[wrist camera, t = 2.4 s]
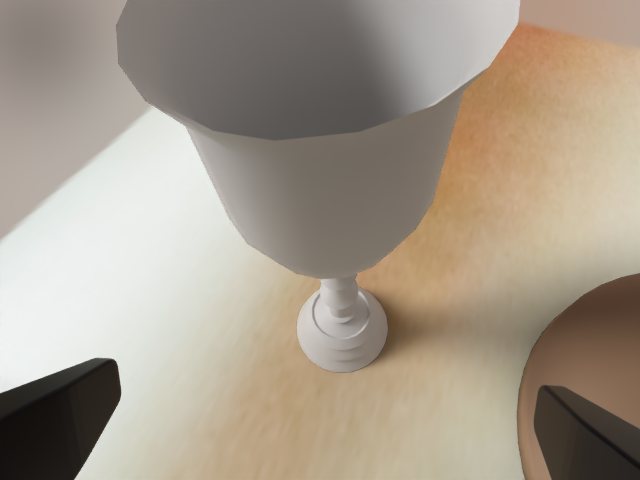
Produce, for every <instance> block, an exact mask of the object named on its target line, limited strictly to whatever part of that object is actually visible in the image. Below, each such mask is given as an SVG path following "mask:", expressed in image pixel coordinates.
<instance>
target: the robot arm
mask: <svg viewBox="0 0 640 480" xmlns="http://www.w3.org/2000/svg"><path fill="white" fill-rule="evenodd" d="M120 398H121V385H120V378H119V371H118V365H117V362H116V361H115V360H114V359H110V358H94V359H91V360H88V361H86V362H83V363H80V364H78V365H75V366H72V367H70V368H67V369H64V370H62V371H59V372H56V373H54V374H51V375H48V376H46V377H43V378H40V379H38V380H35V381H32V382H30V383H27V384H24V385H21V386H19V387H16V388H13V389H11V390H8V391H5V392H3V393H0V480H74V479H75V478H76V476H77V475H78V473H79V472H80V470H81V468H82V467H83V465H84V464H85V462H86V460H87V459H88V457H89V455H90V453H91V452H92V450H93V448H94V446H95V444H96V443H97V441H98V439H99V437H100V436H101V434H102V432H103V430H104V428H105V427H106V425H107V423H108V421H109V419H110V418H111V416H112V414H113V412H114V411H115V409H116V407H117V405H118V403H119V401H120ZM533 425H534V431H535V434H536V437H537V440H538V443H539V446H540V449H541V452H542V454H543V457H544V460H545V463H546V466H547V469H548V472H549V474H550V477H551V480H640V429H639V428H638V427H636V426H634V425H632V424H630V423H629V422H627V421H625V420H623V419H622V418H620V417H618V416H616V415H614V414H613V413H611V412H609V411H607V410H605V409H604V408H602V407H600V406H598V405H597V404H595V403H593V402H591V401H589V400H588V399H586V398H584V397H582V396H580V395H579V394H577V393H575V392H573V391H572V390H570V389H568V388H566V387H564V386H560V385H542V386H540V388H539V390H538V393H537V400H536V406H535V412H534V419H533Z"/></svg>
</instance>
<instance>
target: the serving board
mask: <svg viewBox="0 0 640 480" xmlns="http://www.w3.org/2000/svg"><path fill="white" fill-rule="evenodd" d="M542 385H560V386H564V387H566V388H568V389H570V390H572V391H573V392H575V393H577V394H579V395H580V396H582V397H584V398H586V399H588V400H589V401H591V402H593V403H595V404H597V405H598V406H600V407H602V408H604V409H605V410H607V411H609V412H611V413H613V414H614V415H616V416H618V417H620V418H622V419H623V420H625V421H627V422H629V423H630V424H632V425H634V426H636V427H638V428H639V429H640V273H639V274H635V275H630V276H626V277H621V278H618V279H616V280H613V281H610V282H608V283H605V284H603V285H600V286H599V287H597V288H595V289H593V290H591V291H590V292H588V293H586V294H584V295H583V296H582V297H580V298H579V299H578V300H577V301H575V302H574V303H573V304H572V305H571V306H569V307H568V308H567V309H566V310H564V311H563V312H562V313H561V314H559V315H558V316H557V317H556V318H555V319H554V320H553V321H552V322H551V323H550V324H549V326H548V327H547V328H546V329H545V330H544V331H543V332H542V334H541V336H540V337H539V339H538V341H537V342H536V344H535V345H534V347H533V349H532V351H531V353H530V356H529V358H528V361H527V363H526V365H525V368H524V371H523V376H522V380H521V384H520V388H519V396H518V407H517V431H518V445H519V451H520V457H521V463H522V469H523V473H524V476H525V480H551V477H550V474H549V472H548V469H547V466H546V463H545V460H544V457H543V454H542V452H541V449H540V446H539V443H538V440H537V437H536V434H535V431H534V425H533V419H534V412H535V406H536V400H537V393H538V390H539V388H540V386H542Z"/></svg>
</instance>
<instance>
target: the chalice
mask: <svg viewBox="0 0 640 480" xmlns="http://www.w3.org/2000/svg"><path fill="white" fill-rule="evenodd" d="M519 7H520V0H127V2H126V5H125V7H124V9H123V11H122V14H121V16H120V18H119V20H118V22H117V24H116V32H117V48H118V64H119V65H120V67H121V68H122V69H123V71H124V72H125V74H126V75H127V76H128V78H129V79H130V80H131V81H132V83H133V85H134V86H135V87H136V89H137V90H138V91H139V93H140V94H141V96H142V97H143V98H144V100H145V101H146V102H148V103H150V104H151V105H153V106H154V107H156V108H158V109H159V110H161V111H162V112H164V113H165V114H167V115H169V116H170V117H172V118H173V119H175V120H177V121H178V122H180V123H181V124H183V125H185V126H186V128H187V131H188V133H189V135H190V137H191V139H192V141H193V143H194V145H195V147H196V149H197V152H198V154H199V156H200V158H201V160H202V162H203V164H204V166H205V168H206V171H207V173H208V175H209V177H210V179H211V181H212V183H213V185H214V187H215V189H216V192H217V194H218V196H219V198H220V200H221V202H222V204H223V206H224V208H225V211H226V213H227V215H228V217H229V219H230V220H231V222H232V223H233V225H234V226H235V227H236V229H237V230H238V232H239V233H240V234H241V236H242V237H243V238H244V240H245V241H246V243H247V244H248V245H250V246H252V247H253V248H255V249H256V250H258V251H260V252H261V253H263V254H264V255H266V256H268V257H269V258H271V259H272V260H274V261H276V262H277V263H279V264H281V265H282V266H284V267H286V268H288V269H289V270H291V271H293V272H294V273H296V274H300V275H305V276H309V277H314V278H318V279H320V281H321V283H322V285H321V288H320V289H319V290H318V291H317V292H315V293H314V294H313V295H312V296H311V297H309V299H308V300H307V301H306V303H305V304H304V305H303V307H302V308H301V311H300V314H299V317H298V320H297V337H298V340H299V343H300V346H301V349H302V350H303V351H304V353H305V354H306V355H307V357H308V358H309V359H310V360H311V361H312V362H314V363H315V364H316V365H318V366H319V367H321V368H322V369H326V370H329V371H333V372H336V373H340V372H353V371H356V370H358V369H361V368H363V367H366V366H367V365H368V364H369V363H371V362H372V361H373V360H374V359H375V358H377V357H378V355H379V353H380V352H381V350H382V348H383V347H384V345H385V342H386V337H387V333H388V325H387V317H386V314H385V312H384V310H383V308H382V306H381V304H380V303H379V301H378V300H377V299H376V298H375V297H374V296H373V295H372V294H371V293H369V292H368V291H366V290H364V289H362V288H361V287H359V286H358V285H357V282H356V280H355V279H356V276H357V273H359V272H362V271H364V270H367V269H369V268H371V267H373V266H375V265H376V264H377V263H378V262H379V261H381V260H382V259H383V258H384V257H386V256H387V255H388V254H389V253H390V252H392V251H393V250H394V249H395V248H396V247H397V246H398V245H399V244H400V243H401V242H402V241H404V240H405V239H406V238H407V237H408V236H409V235H410V234H411V233H412V232H413V231H414V230H415V229H416V228H417V226H418V225H419V223H420V221H421V220H422V218H423V217H424V215H425V214H426V212H427V210H428V209H429V207H430V206H431V204H432V202H433V199H434V196H435V192H436V188H437V185H438V181H439V178H440V174H441V171H442V167H443V164H444V160H445V157H446V153H447V149H448V146H449V142H450V139H451V135H452V132H453V128H454V125H455V121H456V118H457V114H458V111H459V107H460V103H461V100H462V96H463V93H464V91H465V90H466V89H467V88H468V87H469V86H470V85H471V84H472V83H473V82H474V81H475V80H476V79H477V78H478V77H479V76H480V75H481V74H482V73H483V72H484V71H485V70H486V69H487V68H488V67H489V66H490V64H491V63H492V61H493V60H494V58H495V57H496V55H497V54H498V52H499V51H500V50H501V48H502V47H503V45H504V44H505V42H506V41H507V39H508V38H509V36H510V35H511V33H512V32H513V30H514V29H515V27H516V26H517V24H518V16H519Z"/></svg>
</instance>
